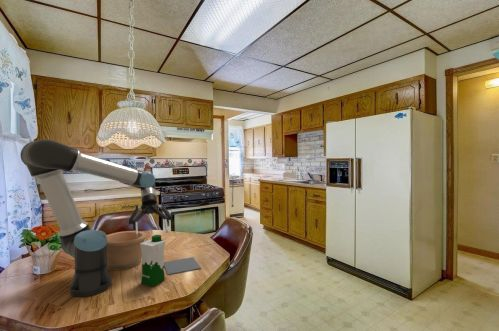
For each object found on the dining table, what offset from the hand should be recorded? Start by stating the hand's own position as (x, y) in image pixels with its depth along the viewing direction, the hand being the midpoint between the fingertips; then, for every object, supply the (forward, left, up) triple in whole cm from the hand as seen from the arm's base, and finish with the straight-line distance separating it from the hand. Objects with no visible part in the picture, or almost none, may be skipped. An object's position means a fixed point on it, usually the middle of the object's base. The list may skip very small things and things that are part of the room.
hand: (152, 233), depth 122 cm
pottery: (-12, +18, -19) cm, 29 cm away
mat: (+14, +2, -19) cm, 24 cm away
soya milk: (-1, -10, -19) cm, 22 cm away
